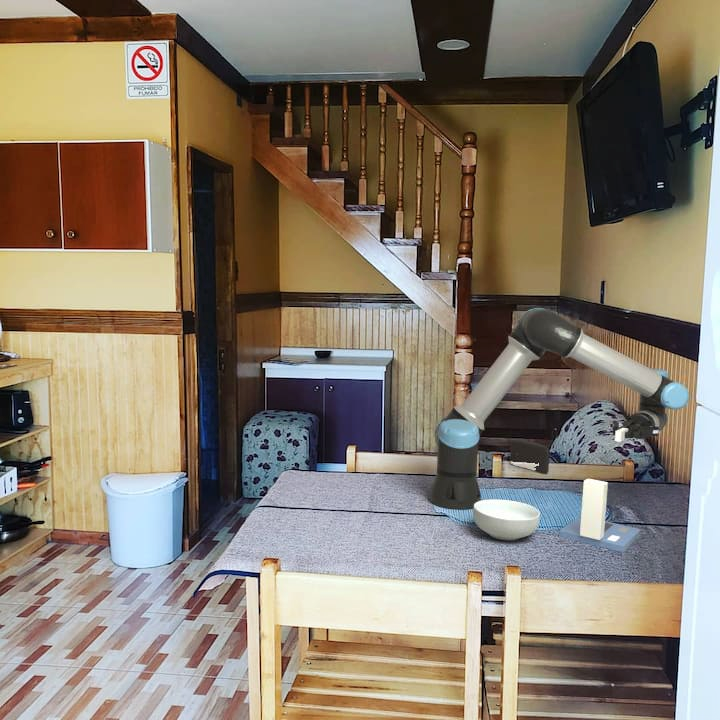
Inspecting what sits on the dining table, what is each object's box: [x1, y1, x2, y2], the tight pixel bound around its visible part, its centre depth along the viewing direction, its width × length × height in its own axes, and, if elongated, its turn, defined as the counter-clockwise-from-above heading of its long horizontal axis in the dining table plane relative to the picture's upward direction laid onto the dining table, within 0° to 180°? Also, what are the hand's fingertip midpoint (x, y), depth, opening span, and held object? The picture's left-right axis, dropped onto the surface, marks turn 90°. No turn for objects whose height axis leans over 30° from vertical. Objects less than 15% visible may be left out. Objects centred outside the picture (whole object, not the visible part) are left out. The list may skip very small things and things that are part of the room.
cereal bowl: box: [472, 498, 541, 541], centre depth 174 cm, size 17×17×7 cm
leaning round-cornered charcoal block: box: [509, 439, 550, 475], centre depth 242 cm, size 16×5×9 cm, turn 39°
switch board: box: [558, 515, 642, 553], centre depth 177 cm, size 16×16×2 cm
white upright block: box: [580, 478, 609, 540], centre depth 170 cm, size 3×5×14 cm, turn 53°
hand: (618, 436), depth 182 cm, fingers closed
